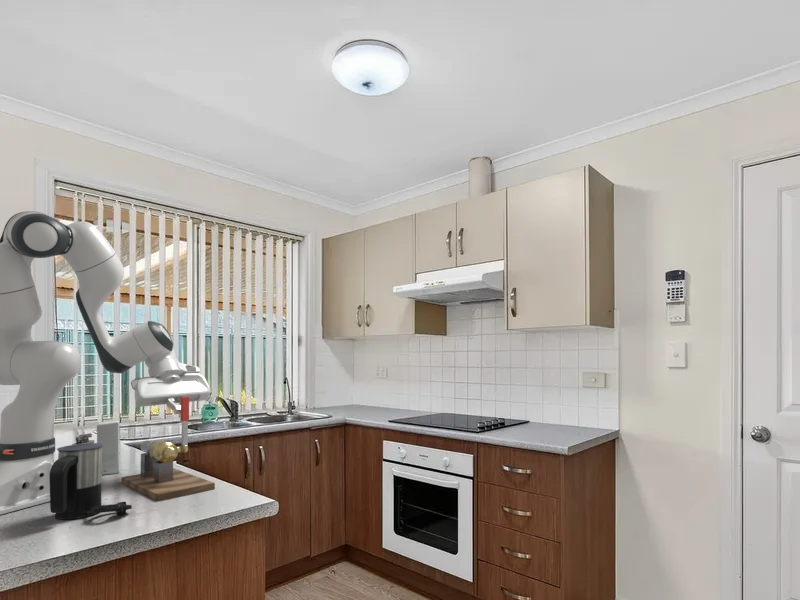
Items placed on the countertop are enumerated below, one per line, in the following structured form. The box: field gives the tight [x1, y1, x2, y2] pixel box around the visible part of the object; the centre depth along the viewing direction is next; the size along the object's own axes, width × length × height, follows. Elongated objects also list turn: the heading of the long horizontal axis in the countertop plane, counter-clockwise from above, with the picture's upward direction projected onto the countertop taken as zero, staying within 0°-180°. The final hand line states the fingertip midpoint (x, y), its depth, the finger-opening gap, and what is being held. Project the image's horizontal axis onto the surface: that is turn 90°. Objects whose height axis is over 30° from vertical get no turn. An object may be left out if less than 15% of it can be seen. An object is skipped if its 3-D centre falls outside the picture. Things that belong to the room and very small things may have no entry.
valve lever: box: [179, 397, 190, 454], centre depth 146 cm, size 2×2×15 cm
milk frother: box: [49, 442, 133, 520], centre depth 119 cm, size 14×16×15 cm
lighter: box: [71, 432, 95, 445], centre depth 170 cm, size 8×3×10 cm, turn 171°
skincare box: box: [96, 420, 121, 476], centre depth 161 cm, size 8×6×15 cm
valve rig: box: [120, 440, 216, 502], centre depth 142 cm, size 27×14×12 cm, turn 44°
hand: (180, 412), depth 148 cm, fingers closed
